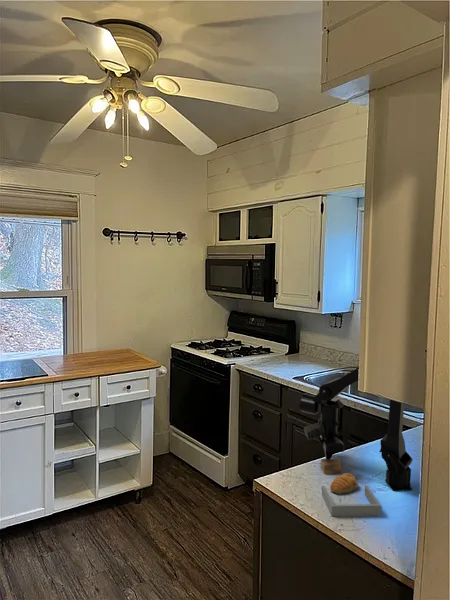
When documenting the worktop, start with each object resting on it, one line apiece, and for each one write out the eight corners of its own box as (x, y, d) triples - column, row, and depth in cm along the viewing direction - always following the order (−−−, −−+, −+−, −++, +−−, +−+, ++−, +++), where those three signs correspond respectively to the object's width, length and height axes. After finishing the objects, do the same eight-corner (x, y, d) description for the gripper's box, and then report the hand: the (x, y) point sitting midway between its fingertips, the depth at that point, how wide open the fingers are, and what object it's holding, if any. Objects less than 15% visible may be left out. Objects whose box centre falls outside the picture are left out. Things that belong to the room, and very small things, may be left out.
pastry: (342, 498, 140) (343, 486, 140) (324, 490, 145) (324, 478, 145) (359, 488, 146) (359, 476, 146) (341, 480, 151) (341, 469, 151)
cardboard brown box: (338, 468, 159) (338, 459, 159) (341, 474, 155) (341, 464, 155) (321, 468, 159) (321, 459, 159) (323, 474, 155) (324, 464, 155)
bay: (367, 494, 142) (367, 485, 142) (380, 515, 131) (380, 505, 131) (321, 495, 142) (322, 485, 141) (331, 516, 130) (331, 506, 130)
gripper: (300, 408, 169) (300, 449, 171) (311, 428, 151) (310, 473, 152) (330, 408, 170) (329, 448, 171) (345, 427, 151) (344, 472, 153)
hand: (327, 460), depth 162 cm, fingers closed
